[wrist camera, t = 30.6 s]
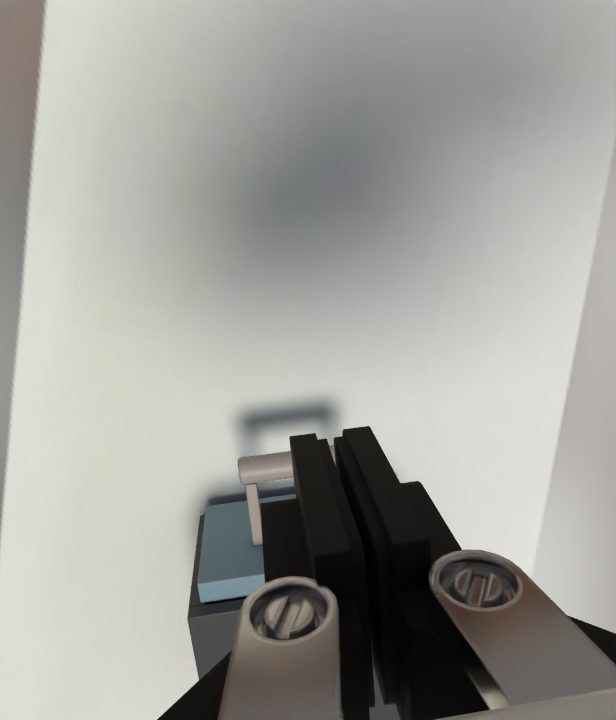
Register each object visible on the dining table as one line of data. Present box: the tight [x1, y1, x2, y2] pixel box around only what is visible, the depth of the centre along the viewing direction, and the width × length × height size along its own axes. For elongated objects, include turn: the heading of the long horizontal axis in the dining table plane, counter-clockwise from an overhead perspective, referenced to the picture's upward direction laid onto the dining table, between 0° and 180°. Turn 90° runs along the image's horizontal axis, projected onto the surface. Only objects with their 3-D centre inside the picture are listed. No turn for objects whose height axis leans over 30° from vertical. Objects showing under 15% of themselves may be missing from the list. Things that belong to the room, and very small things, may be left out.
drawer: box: [197, 445, 336, 603], centre depth 33 cm, size 19×11×7 cm, turn 5°
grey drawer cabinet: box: [187, 515, 400, 720], centre depth 35 cm, size 15×13×9 cm
